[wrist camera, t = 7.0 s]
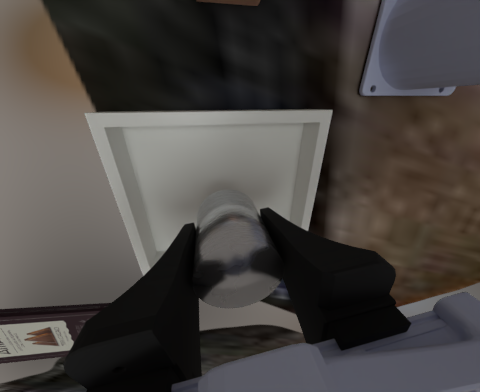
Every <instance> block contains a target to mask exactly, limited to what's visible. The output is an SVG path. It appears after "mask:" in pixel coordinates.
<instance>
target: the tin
mask: <svg viewBox="0 0 480 392" xmlns="http://www.w3.org/2000/svg"><path fill="white" fill-rule="evenodd" d="M283 273H284V264H283V261H282V259H281V257H280V255H279V253H278V251H277V249H276V247H275V245H274V243H273V241H272V239H271V237H270V235H269V233H268V231H267V229H266V227H265V225H264V223H263V221H262V219H261V217H260V215H259V213H258V211H257V209H256V207H255V205H254V203H253V201H252V200H251V198H250V197H249V196H247V195H246V194H244V193H242V192H240V191H237V190H221V191H217V192H215V193H213V194H211V195H209V196H208V197H207V198H206V199H205V200H204V201H203V202H202V203H201V205H200V207H199V209H198V213H197V225H196V239H195V253H194V268H193V288H194V291H195V293H196V295H197V296H198V297H199V298H200V299H201V300H202V301H204V302H205V303H207V304H209V305H212V306H215V307H220V308H238V307H244V306H247V305H251V304H253V303H256V302H258V301H260V300H262V299H264V298H265V297H267V296H268V295H269V294H270V293H272V292H273V291H274V290H275V289H276V287H277V286H278V285H279V283H280V282H281V280H282V277H283Z"/></svg>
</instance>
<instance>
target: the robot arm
mask: <svg viewBox="0 0 480 392" xmlns="http://www.w3.org/2000/svg"><path fill="white" fill-rule="evenodd" d="M468 85H480V0H382V2H381V6H380V10H379V14H378V18H377V22H376V26H375V30H374V34H373V38H372V42H371V46H370V50H369V54H368V58H367V62H366V65H365V69H364V73H363V77H362V81H361V85H360V89H359V93H360V95H362V96H448V95H450V94H452V93H453V92H454V90H455V88H456V86H468ZM371 87H372V91H370V89H371ZM260 217H261V219H262V221H263V223H264V225H265V227H266V229H267V231H268V233H269V235H270V237H271V239H272V241H273V243H274V245H275V247H276V249H277V251H278V253H279V255H280V257H281V259H282V261H283V264H284V273H283V277H282V278H283V280H284V283H285V285H286V288H287V290H288V293H289V296H290V298H291V301H292V304H293V306H294V309H295V312H296V315H297V317H298V320H299V323H300V326H301V328H302V332H303V335H304V337H305V340H306V343H301V344H294V345H289V346H286V347H282V348H278V349H275V350H271V351H268V352H264V353H261V354H257V355H254V356H250V357H247V358H243V359H239V360H236V361H232V362H229V363H225V364H222V365H220V366H218V367H215V368H213V369H210V370H209V371H208V372H207V373H206V374H205V375H204V376H202V373H201V356H200V333H199V297H198V296H197V295H196V293H195V291H194V288H193V268H194V253H195V239H196V228H195V225H194V222H193V223H188V224H184V226H183V227H182V229H181V230H180V232H179V233H178V235H177V236H176V238H175V239H174V241H173V242H172V243H171V245H170V246H169V248H168V249H167V250H166V252H165V253H164V254H163V255H162V257H161V258H160V259H159V260H158V261H157V262H156V264H155V265H154V266H153V267H152V268H151V269H150V270H149V271H148V272H147V273H146V274H145V275H144V276H143V277H142V278H141V279H140V280H138V281H137V282H136V283H135V284H134V285H133V286H132V287H131V288H130V289H129V290H127V291H126V292H125V293H124V294H122V295H121V296H120V297H119V298H117V299H116V300H115V301H114V302H112V303H111V304H110V305H108V306H107V307H105V308H104V309H103V310H101V311H100V312H99V313H97V314H96V315H94V316H93V317H92V318H90V319H89V320H87V321H86V322H85V324H84V326H83V328H82V329H81V331H80V333H79V335H78V337H77V338H76V340H75V342H74V344H73V346H72V347H71V349H70V351H69V353H68V355H67V357H66V358H65V361H64V364H63V365H64V369H65V372H66V373H67V374H68V375H69V376H70V377H71V378H73V379H74V380H75V381H77V382H78V383H80V384H81V385H82V386H84V387H85V388H87V392H480V301H479V300H477V299H476V298H475V297H473V296H472V295H470V294H469V293H468V292H462V293H458V294H455V295H451V296H447V297H444V298H442V299H440V300H439V301H438V302H437V303H436V304H435V306H434V308H433V310H432V311H429V312H426V313H422V314H419V315H415V316H412V317H408V318H406V317H405V316H404V315H403V314H402V313H401V312H400V311H399V310H398V309H397V308H396V306H395V304H396V301H395V300H394V299H393V298H392V297H391V296H390V295H389V293H390V290H391V288H392V285H393V283H394V281H395V277H396V273H395V269H394V268H393V266H392V265H390V264H389V263H388V262H387V261H386V260H385V259H383V258H382V257H381V256H380V255H379V254H378V253H376V252H375V251H371V250H366V249H361V248H356V247H352V246H348V245H345V244H341V243H338V242H335V241H331V240H329V239H326V238H323V237H320V236H318V235H315V234H313V233H311V232H309V231H306V230H304V229H302V228H300V227H299V226H297V225H295V224H293V223H292V222H290V221H288V220H287V219H285V218H283V217H282V216H280V215H279V214H278V213H276V212H275V211H273V210H272V209H270V208H269V207H267V208H262V209H260Z"/></svg>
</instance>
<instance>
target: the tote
mask: <svg viewBox="0 0 480 392" xmlns="http://www.w3.org/2000/svg"><path fill="white" fill-rule="evenodd" d="M332 111H333V110H320V109H280V110H193V111H108V112H93V113H85V117H86V119H87V122H88V125H89V128H90V131H91V133H92V136H93V139H94V142H95V144H96V147H97V150H98V152H99V155H100V158H101V161H102V164H103V166H104V169H105V172H106V175H107V178H108V180H109V183H110V186H111V188H112V191H113V194H114V197H115V200H116V202H117V205H118V208H119V211H120V214H121V216H122V219H123V222H124V224H125V227H126V230H127V233H128V236H129V238H130V241H131V244H132V246H133V249H134V252H135V255H136V258H137V260H138V263H139V266H140V269H141V272H142V274H143V276H144V275H145V274H146V273H147V272H148V271H149V270H150V269H151V268H152V267H153V266H154V265H155V264H156V262H157V261H158V260H159V259H160V258H161V257H162V255H163V254H164V253H165V252H166V250H167V249H168V248H169V246H170V245H171V243H172V242H173V241H174V239H175V238H176V236H177V235H178V233H179V232H180V230H181V229H182V227H183V226H184V224H188V223H193V222H194V225H195V228H196V225H197V213H198V209H199V207H200V205H201V203H202V202H203V201H204V200H205V199H206V198H207V197H208V196H209V195H211V194H213V193H215V192H217V191H221V190H237V191H240V192H242V193H244V194H246V195H247V196H249V197H250V198H251V200H252V201H253V203H254V205H255V207H256V209H257V211H258V213H259V215H260V209H262V208H267V207H269V208H270V209H272V210H273V211H275V212H276V213H278V214H279V215H280V216H282V217H283V218H285V219H287V220H288V221H290V222H292V223H293V224H295V225H297V226H299V227H300V228H302V229H304V230H306V231H308V229H309V224H310V219H311V214H312V209H313V204H314V199H315V194H316V189H317V185H318V180H319V175H320V170H321V165H322V160H323V155H324V150H325V145H326V141H327V136H328V131H329V126H330V121H331V116H332Z"/></svg>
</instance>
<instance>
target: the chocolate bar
mask: <svg viewBox="0 0 480 392" xmlns="http://www.w3.org/2000/svg"><path fill="white" fill-rule="evenodd" d="M110 304H111V303H99V304H80V305H63V306H46V307H28V308H11V309H0V364H1V363H9V362H18V361H27V360H36V359H46V358H55V357H65V356H67V355H68V353H69V351H70V349H71V347H72V346H73V344H74V342H75V340H76V338H77V337H78V335H79V333H80V331H81V329H82V328H83V326H84V324H85V322H86V321H87V320H89V319H90V318H92V317H93V316H94V315H96V314H97V313H99V312H100V311H101V310H103V309H104V308H105V307H107V306H108V305H110Z"/></svg>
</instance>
